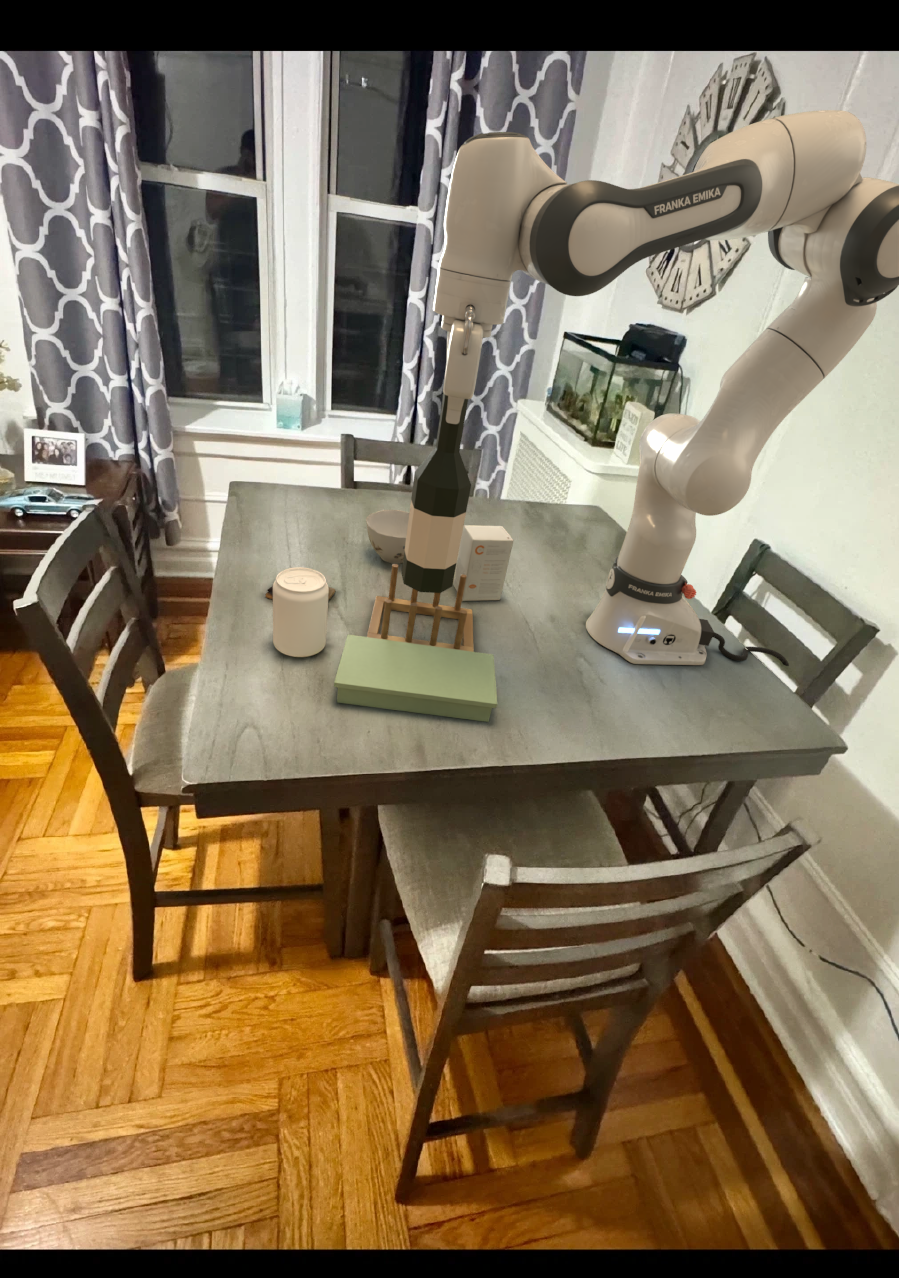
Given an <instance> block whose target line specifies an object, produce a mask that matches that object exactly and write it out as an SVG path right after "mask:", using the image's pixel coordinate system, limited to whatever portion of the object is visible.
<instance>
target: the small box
mask: <svg viewBox="0 0 899 1278" xmlns="http://www.w3.org/2000/svg"><path fill="white" fill-rule="evenodd" d="M514 542H515V541H514V539H513V538H512V536H511V534H509V532H508V531H507V530H506V529H505V528H504V526H503V525H469V524H464V526H463V532H462V537H461V542H460V548H459V553H458V558H457V564H456V569H455V574H454V580H453V585H452V586H453V588H454V589H455V591H456V592H457V591H458V586H459V581H460V576H461V575H462V574H464V575H466V576H467V578H466V583H465V588H464V593H463V598H462V602H469V601H471V602H472V601H474V602H475V601H500V600H501V597H502V592H503V589H504V584H505V581H506V576H507V571H508V567H509V563H510V559H511V554H512V550H513V544H514Z"/></svg>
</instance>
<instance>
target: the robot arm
mask: <svg viewBox="0 0 899 1278" xmlns="http://www.w3.org/2000/svg"><path fill="white" fill-rule="evenodd" d="M866 154H867V135H866V131H865V128H864V125H863V123H862V122H861V120H860V119H859V118H858V117H857V116H856V115H855V114H853V113H851V112H849V111H847V110H842V109H840V110H839V109H823V110H822V109H821V110H811V111H810V110H809V111H802V112H801V111H800V112H795V113H790V114H789V113H788V114H783V115H779V116H775V117H771V118H767V119H763V120H759V121H756V122H754V123H751V124H750V123H749V124H748V125H745V126H742V127H740V128H738V129H736V130H733V131H731V132H729V133H727V134H724V135H723V136H720V137H719V138H717V139H716V140H714V141H713V142H712V141H711V142H710V143H709V144H708V145H707V146H706V148H705V149H704V150H703V152H702V153H701V155H700V156H699V158H698V160H697V162H696V164H695V166H694V170H693V171H692V172H690V173H685V174H683V175H680V176H676V177H673V178H670V179H666V180H662V181H659V182H655V183H652V184H648V185H645V186H642V187H639V188H625V187H622V186H620V185H619V186H618V185H616V184H613V183H609V182H606V181H602V180H596V179H595V180H593V179H590V180H589V179H587V180H581V181H577V182H574V183H568V182H567V181H566V180H564V179H563V178H562V177H560V176H559V175H558V174H557V173H555V172H554V171H553V170H552V168H551V167H550V166H548V164H547V163H545V161H544V160H543V158H541V157H540V155H539V153H537V151H536V149H535V148H534V146H533V144H532V142H531V140H530V138H529V137H528V136H527V135H525V134H524V133H520V132H513V131H492V132H486V133H482V132H481V133H478V134H475V135H473V136H471V137H469V138H468V139H467V140H465V141H464V142H463V143H462V145H460V147H459V149H458V151H457V153H456V156H455V160H454V163H453V168H452V172H451V176H450V181H449V186H448V192H447V198H446V205H445V211H444V218H443V219H444V220H443V230H444V245H443V250H442V253H441V256H440V259H439V261H438V267H437V275H436V283H435V293H434V299H433V305H432V311H433V312H434V313H436V314H438V315H441V316H442V317H441V324H440V328H441V329H442V330H443V331H445V332H446V334H447V335H446V363H445V370H444V371H445V372H444V378H443V379H444V381H443V387H442V389H443V392H442V393H444V394H445V395H447V396H448V406H447V414H446V422H447V423H451V424H458V423H459V421H460V415H461V410H462V406H463V403H464V399H468V400H471V399H472V398H473V396H474V393H475V389H476V385H477V384H476V383H477V378H478V371H479V366H480V359H481V353H482V348H483V338H491V336H492V332H493V331H492V330H493V325H494V326H495V325H496V326H497V325H503V324H504V322H505V316H506V312H507V311H506V310H507V306H508V300H509V295H510V289H511V284H512V280H513V279H512V278H513V275H514V273H515V272H517V271H521V272H522V273H524V274H525V275H527V276H528V277H530V278H531V279H534V280H536V281H539V282H540V283H543V284H546V285H548V286H550V288H553V289H554V290H555V291H557V292H559V293H560V294H563V295H565V296H570V297H584V296H589V295H592V294H594V293H597V292H599V291H600V290H602V289H604V288H606V287H607V286H608V285H610V284H611V283H612V282H613V281H615V280H616V279H618V277H619V276H621V275H622V274H623V273H624V272H626V271H627V270H629V268H630V267H632V266H634V265H635V264H637V263H639V262H640V261H642V260H644V259H647V258H650V257H652V256H655V255H658V254H662V253H664V252H667V251H671V250H675V249H677V248H680V247H683V246H686V245H687V246H688V245H690V244H692V243H696V242H699V241H702V240H706V241H730V240H731V241H732V240H737V239H744V238H749V237H753V236H758V235H761V234H764V233H767V242H768V248H769V251H770V254H771V255H772V257H773V258H774V259H775V260H776V261H777V263H779V264H780V265H781V266H783V267H784V268H786V269H787V270H791V271H796V272H798V273H800V274H802V275H804V276H805V277H804V280H803V283H802V285H801V287H800V290H799V292H798V293H797V295H796V296H795V298H794V300H793V301H792V303H790V304H789V305H788V306H787V307H786V308H784V310H783V311H782V312H780V314H779V315H777V317H776V318H774V319H773V321H772V322H771V323H770V324H769V325H767V327H766V328H765V329H764V330H763V331H762V332H761V333H760V334H759V335H758V336H757V337H756V338H755V340H754V341H753V342H752V343H751V344H750V345H749V346H748V347H747V348H746V350H745V351H743V352H742V353H741V355H740V356H739V357H738V358H737V359H736V360H735V361H734V362H733V363H732V364H731V365H730V367H728V369H726V370H725V372H724V373H723V375H722V377H721V380H720V383H719V390H718V392H717V394H716V396H715V399H714V400H713V401H712V403H711V405H710V407H709V409H708V410H707V412H706V414H705V415H704V416H703V418H702V419H701V420H700V419H698V418H697V417H694V416H692V415H688V414H683V413H673V412H671V413H665V414H662V415H659V416H657V417H656V418H654V419H653V420H652V421H650V422H649V423H648V424H647V425H646V426H645V428H644V430H643V431H642V432H641V435H640V438H639V442H638V443H639V444H638V451H639V466H638V472H637V479H636V487H635V492H634V493H635V494H634V500H633V507H632V512H631V516H630V521H629V524H628V527H627V531H626V533H625V536H624V540H623V542H622V545H621V548H620V551H619V553H618V556H616V558H615V559H614V561H613V564H612V566H611V568H610V570H609V572H608V576H607V579H606V583H605V589H604V592H603V594H602V596H601V598H600V600H599V601H598V604H597V605H596V607H595V608H594V610H593V612H592V613H591V615H589V617H588V618H587V619H586V621H585V629H586V631H587V633H588V634H589V636H590V637H591V638H592V639H593V640H594V641H595V642H597V643H598V644H599V645H601V646H603V647H604V648H606V649H608V650H610V651H612V652H614V653H616V654H618V655H620V656H621V657H622V658H623V659H624V660H626V662H627V661H628V662H629V663H631V664H633V665H667V666H668V665H671V666H704V665H705V663H706V659H707V656H708V653H707V648H706V646H707V647H709V646H710V643H711V642H712V640H713V638H714V639H716V640H717V641H718V646H717V647H718V651H719V652H720V653H721V654H722V655H723V656H725V657H726V658H728V659H730V660H734V661H737V662H738V661H739V662H743V661H747V659H748V658H749V653H762V654H767V655H770V656H772V657H775V658H776V659H778V660H779V661H780V662H781V664H782V665H783V666H786V667H789V666H790V663H789V662H788V660H787V658H786V657H785V656H784V655H783V654H781V653H780V652H778V651H775V650H773V649H771V648H767V647H761V646H746V648H747V649H748V650H746V649H745V647H743V648H742V650H741V651H742V652H741V655H738V654H734V653H732V652H730V651H728V650H727V649H726V648H725V645H726V640H725V639H724V637H723V636H722V635H721V634H719V633H717V632H715V631H714V629H713V627H712V625H711V624H710V622H709V620H708V619H705V618H700V617H699V616H698V614H697V613H696V611H695V610H694V609H693V607H692V606H691V605H690V603H689V602H688V600H692V599H693V598H695V597H696V596H697V590H696V589H695V588H694V586H693V584H689V583H688V580H687V578H686V577H685V576H684V575H682V574H683V571H684V569H685V566H686V564H687V562H688V559H689V557H690V555H691V552H692V550H693V547H694V546H695V543H696V539H697V524H696V515H697V514H698V515H701V516H708V517H711V516H713V517H714V516H718V515H722V514H725V513H727V512H728V511H730V510H732V509H734V508H735V507H736V506H737V505H738V504H739V503H740V502H741V501H742V500H743V499H744V498H745V497H746V494H747V493H748V491H749V488H750V486H751V483H752V474H753V468H754V466H755V463H756V462H757V459H758V457H759V455H760V454H761V452H762V450H763V449H764V447H765V445H766V444H767V442H768V441H769V439H770V438H771V437H772V435H773V433H774V432H775V431H776V429H777V428H778V427H779V425H780V424H781V423H782V422H783V421H784V420H785V419H786V418H787V416H788V415H789V414H790V413H791V412H793V410H794V409H795V408H796V407H797V406H798V405H799V404H800V403H801V402H802V401H803V400H804V399H805V398H806V397H807V396H808V395H810V393H812V392H813V390H814V389H815V388H816V387H818V385H819V384H821V382H822V381H823V380H825V379H826V378H827V377H828V376H829V375H830V373H831V372H832V371H833V370H834V369H835V368H836V367H837V366H838V365H839V364H840V363H841V362H842V361H843V360H844V359H845V357H846V356H847V355H848V354H849V353H850V351H851V350H852V349H853V348H854V347H855V345H856V344H857V343H858V341H860V339H861V338H862V336H863V335H864V334H865V332H866V331H867V330H868V328H869V326H871V324H872V322H873V321H874V319H875V317H876V314H877V309H878V308H877V307H878V304H877V302H880V301H882V300H883V299H885V298H886V297H888V296H889V295H890V294H892V293H893V292H894V291H895V290H897V288H898V287H899V183H896V182H893V181H889V180H886V179H881V178H876V177H871V176H870V177H865V176H864V177H862V174H861V171H862V170H863V166H864V163H865V160H866ZM687 599H688V600H687Z"/></svg>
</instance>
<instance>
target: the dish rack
mask: <svg viewBox="0 0 899 1278" xmlns="http://www.w3.org/2000/svg"><path fill="white" fill-rule="evenodd" d="M390 572H391V573H390V579H389V589H388V596H380V595H376V596H375V600H374V603H373V608H372V612H371V617H370V621H369V624H368V625H369V626H368V629H367V634H366V637H369V638H377V639H384V640H391V641H398V642H406V643H413V644H420V645H427V646H435V647H442V648H449V649H456V650H464V651H471V652H475V651H474V623H473V622H474V621H473V619H474V617H473V609H472V608H465V607H462V604H463V603H462V602H463V601H462V598H463V593H464V588H465V583H466V578H467V576H466V575H464V574H462V575H461V576H460V581H459V586H458V591H456V597H455V603H454V606H451V605H445V604H444V605H443V604H440V599H441V595H442V593H433V599H432V603H429V602H424V601H418V596H419V591H417V590H415V589H413V588H411V595H410V600H409V599H402V598H396V589H397V581H398V574H399V564H393V563H392V565H391V571H390ZM392 611H397V612H403V613H404V612H405V613H408V618H407V625H406V631H405V632H406V633H405V636H404V637H402V636H396V635H389V629H390V623H391V613H392ZM417 614H418V615H423V616H431V617H433V620H432V626H431V632H430V639H429V640H426V639H425V640H424V639H418V638H413V636H414V630H415V624H416V623H415V622H416V616H417ZM442 618H446V619H453V620H458V621H457V626H456V627H457V628H456V631H455V636H454V637H455V639H454V642H453V643H446V642H440V641H438V636H439V630H440V624H441V620H442ZM381 621H382V623H381ZM380 626H381V627H380ZM380 628H381V633H379V631H380Z"/></svg>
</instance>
